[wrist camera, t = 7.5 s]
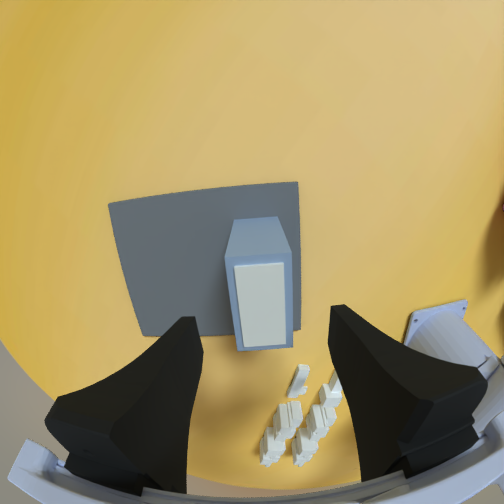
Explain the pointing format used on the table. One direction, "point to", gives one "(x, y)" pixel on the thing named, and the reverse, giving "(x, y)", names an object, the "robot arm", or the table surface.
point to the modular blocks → (292, 417)
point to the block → (260, 284)
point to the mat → (195, 251)
